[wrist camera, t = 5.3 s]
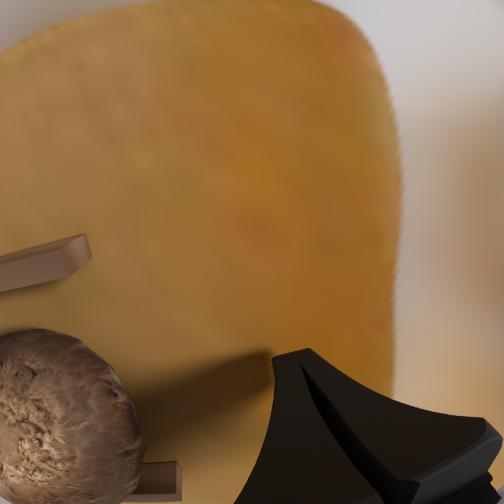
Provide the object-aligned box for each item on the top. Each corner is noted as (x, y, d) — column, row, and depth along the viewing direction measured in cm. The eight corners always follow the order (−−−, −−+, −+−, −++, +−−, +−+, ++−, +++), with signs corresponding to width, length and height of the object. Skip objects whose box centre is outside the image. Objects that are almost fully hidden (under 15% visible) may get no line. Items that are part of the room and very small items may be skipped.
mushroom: (134, 525, 9) (71, 587, 4) (11, 433, 11) (-74, 439, 5) (197, 390, 12) (145, 406, 6) (57, 307, 13) (-31, 266, 7)
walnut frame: (181, 470, 13) (181, 501, 11) (41, 467, 12) (33, 491, 10) (85, 233, 9) (60, 249, 7) (-65, 276, 8) (-91, 292, 6)
